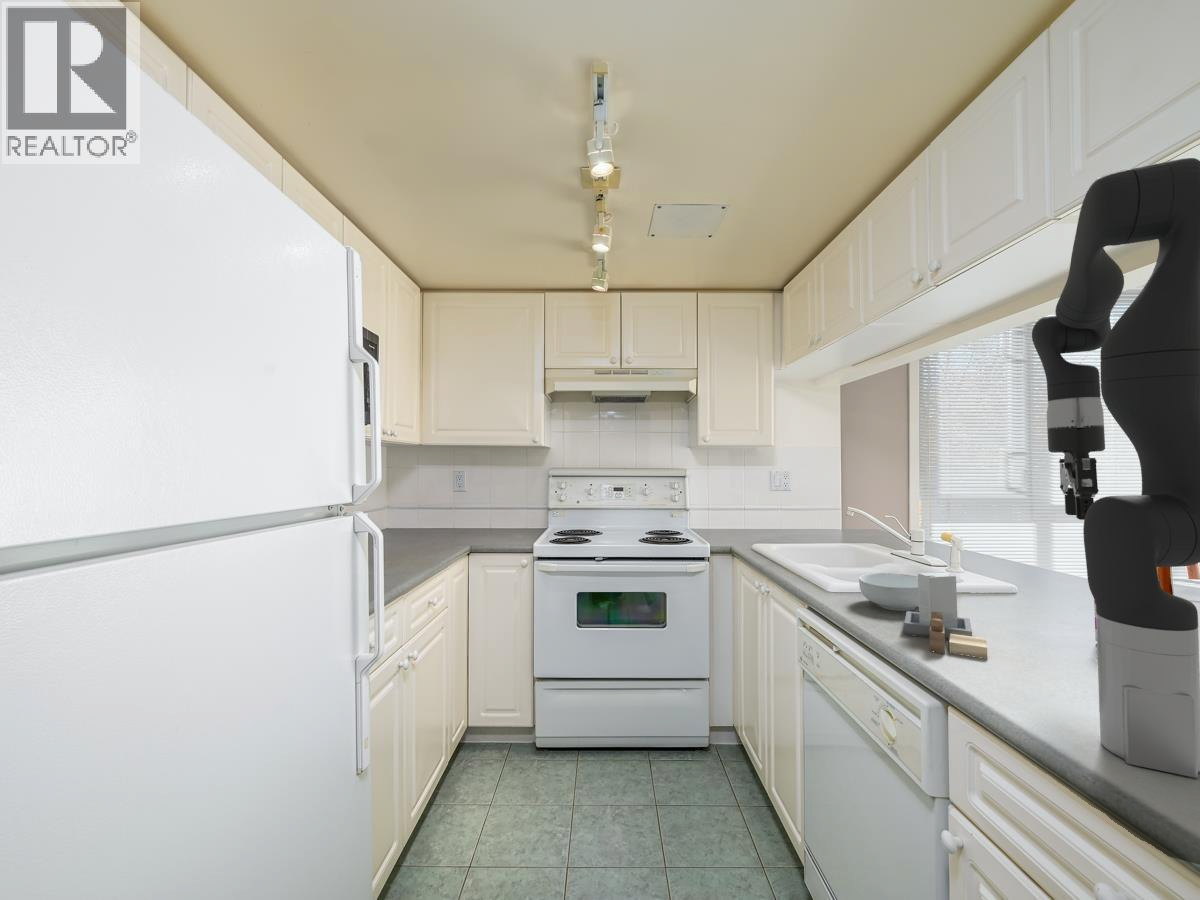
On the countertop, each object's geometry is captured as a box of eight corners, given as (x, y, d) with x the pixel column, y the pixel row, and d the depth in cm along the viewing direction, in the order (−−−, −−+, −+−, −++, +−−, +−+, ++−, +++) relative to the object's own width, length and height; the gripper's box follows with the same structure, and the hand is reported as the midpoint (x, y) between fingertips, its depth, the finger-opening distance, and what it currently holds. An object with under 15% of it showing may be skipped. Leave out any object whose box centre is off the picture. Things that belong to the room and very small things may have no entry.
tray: (972, 643, 109) (972, 631, 109) (904, 634, 116) (904, 622, 116) (969, 629, 118) (969, 618, 118) (906, 621, 124) (906, 611, 124)
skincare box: (944, 626, 119) (942, 571, 119) (959, 632, 114) (957, 575, 114) (917, 627, 118) (916, 572, 118) (931, 633, 114) (930, 576, 114)
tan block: (987, 660, 101) (987, 647, 101) (949, 654, 105) (949, 642, 105) (986, 651, 106) (986, 638, 106) (950, 645, 109) (950, 633, 110)
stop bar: (945, 653, 104) (944, 622, 104) (930, 651, 105) (929, 621, 105) (944, 641, 111) (943, 612, 111) (930, 639, 112) (929, 610, 112)
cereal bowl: (882, 594, 148) (881, 569, 148) (947, 608, 134) (946, 580, 134) (845, 605, 139) (845, 577, 139) (911, 620, 125) (910, 590, 125)
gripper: (1040, 428, 103) (1044, 513, 102) (1055, 424, 90) (1059, 520, 90) (1092, 426, 99) (1097, 514, 98) (1115, 421, 87) (1120, 522, 86)
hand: (1079, 517), depth 94 cm, fingers open, 8 cm apart
